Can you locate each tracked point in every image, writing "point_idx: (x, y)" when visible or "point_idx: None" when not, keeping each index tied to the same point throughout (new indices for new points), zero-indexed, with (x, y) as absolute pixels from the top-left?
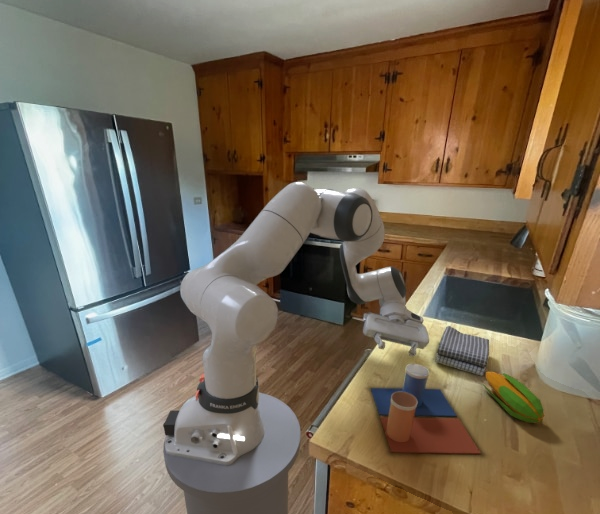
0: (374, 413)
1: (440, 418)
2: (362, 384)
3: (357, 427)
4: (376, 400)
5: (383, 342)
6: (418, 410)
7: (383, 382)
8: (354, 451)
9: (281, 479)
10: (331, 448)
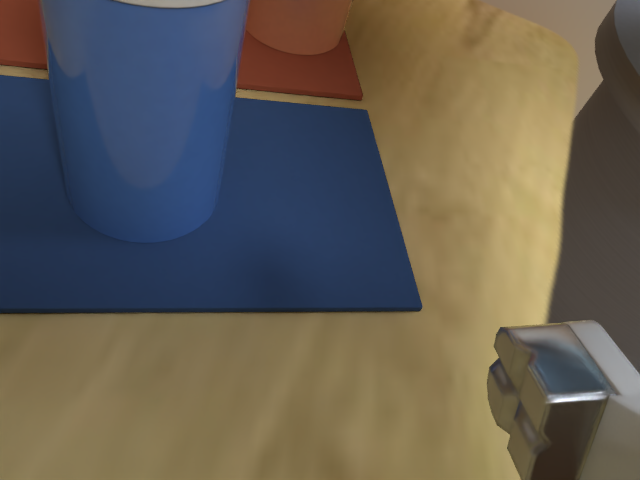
0: (389, 127)
1: (20, 60)
2: (484, 362)
3: (457, 72)
4: (382, 194)
5: (574, 378)
6: None
7: (317, 401)
8: (451, 2)
9: (585, 117)
10: (524, 19)
